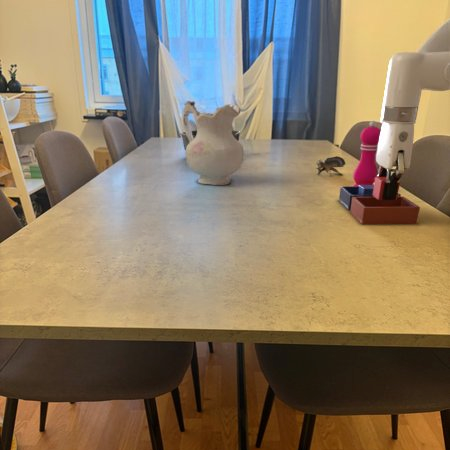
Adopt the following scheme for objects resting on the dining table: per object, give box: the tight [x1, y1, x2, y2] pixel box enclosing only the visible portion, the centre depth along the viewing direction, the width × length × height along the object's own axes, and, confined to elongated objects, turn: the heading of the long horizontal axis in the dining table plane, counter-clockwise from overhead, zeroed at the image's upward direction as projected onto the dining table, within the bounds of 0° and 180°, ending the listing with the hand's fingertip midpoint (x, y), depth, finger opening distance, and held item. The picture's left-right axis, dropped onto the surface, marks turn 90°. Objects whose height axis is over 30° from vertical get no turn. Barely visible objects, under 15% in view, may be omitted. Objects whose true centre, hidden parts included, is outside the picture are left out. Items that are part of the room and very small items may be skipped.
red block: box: [373, 177, 401, 200], centre depth 104 cm, size 4×4×4 cm
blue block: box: [358, 185, 374, 195], centre depth 117 cm, size 4×4×4 cm
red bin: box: [349, 195, 421, 225], centre depth 107 cm, size 13×10×4 cm
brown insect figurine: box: [315, 155, 347, 177], centre depth 153 cm, size 8×7×9 cm
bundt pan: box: [180, 129, 241, 152], centre depth 191 cm, size 26×26×10 cm
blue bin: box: [338, 185, 402, 212], centre depth 117 cm, size 13×10×4 cm
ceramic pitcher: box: [181, 100, 245, 186], centre depth 141 cm, size 22×20×25 cm
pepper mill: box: [352, 120, 381, 186], centre depth 129 cm, size 7×7×20 cm
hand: (384, 196), depth 105 cm, fingers closed on red block, 4 cm apart
